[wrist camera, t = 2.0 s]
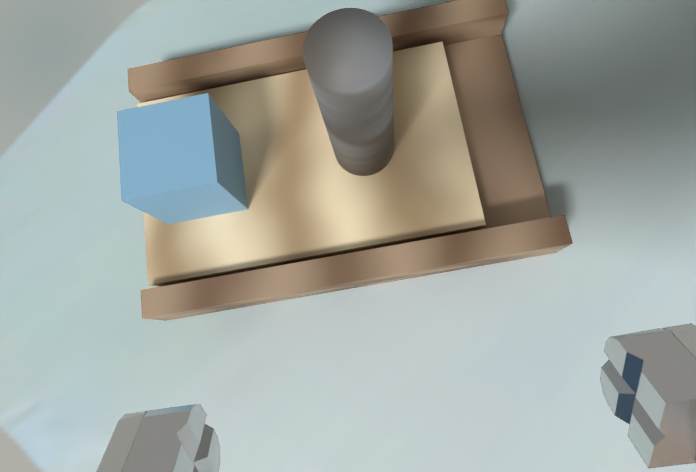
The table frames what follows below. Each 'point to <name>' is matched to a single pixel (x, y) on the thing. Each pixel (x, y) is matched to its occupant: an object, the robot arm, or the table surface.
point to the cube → (181, 160)
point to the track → (406, 258)
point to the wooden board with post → (332, 158)
